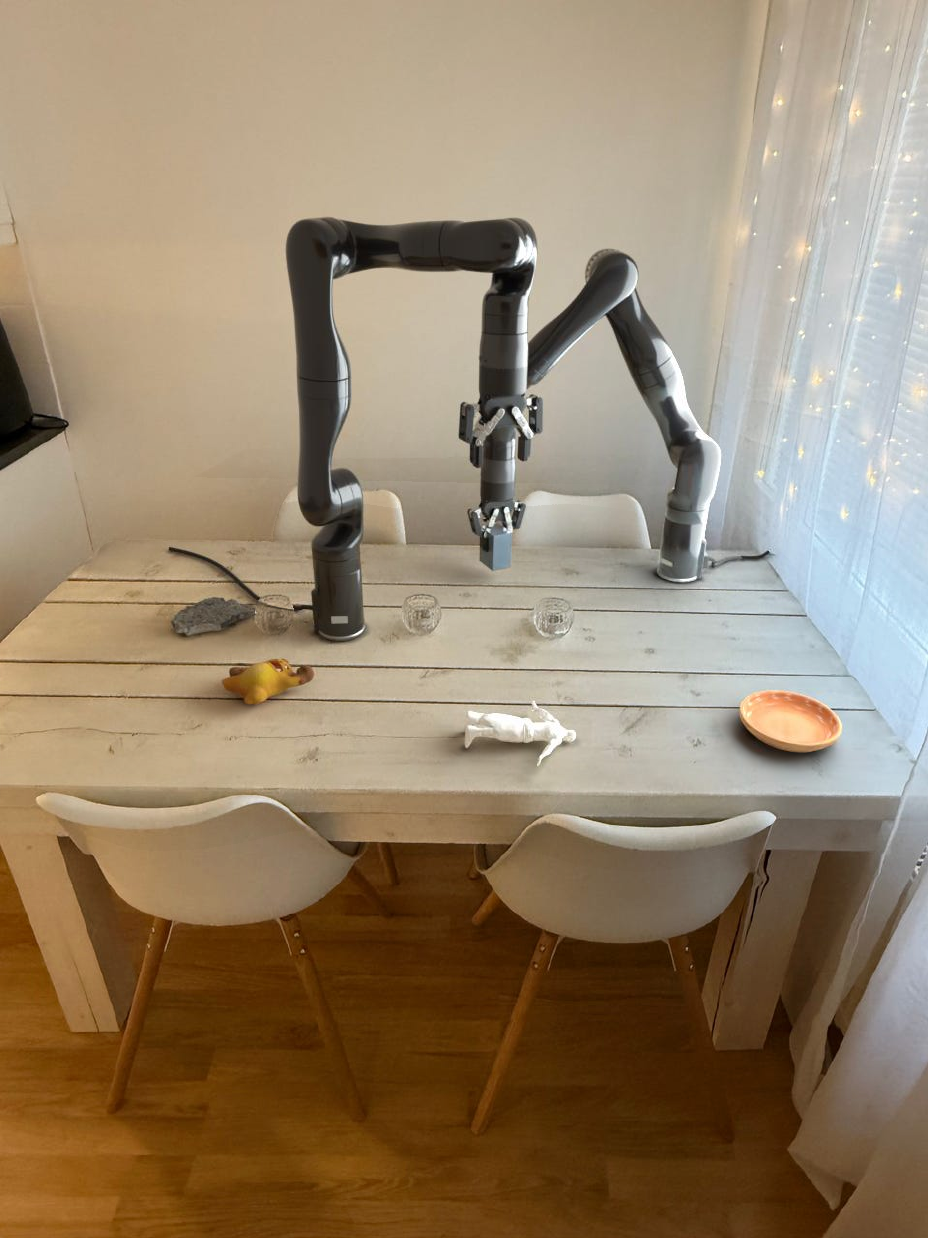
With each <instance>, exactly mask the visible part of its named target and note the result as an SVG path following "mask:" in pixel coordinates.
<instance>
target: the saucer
mask: <svg viewBox="0 0 928 1238" xmlns="http://www.w3.org/2000/svg"><path fill="white" fill-rule="evenodd" d="M739 718H740V721H741V722H742V724H743V726H744V727H745V728H746V729H747V730H748V732H750V734H752V735H753V736H754V737H755V738H756V739H757V740H759V741H761V742H762V743H764V744H766V745H768V746H770V747H772V748H773V749H777V750H778V749H779V750H781V751H785V752H791V753H812V752H815V751H820V750H822V749H823V750H824V749H826V748H828V747H830V746H832V745H834V744H835V743H837V741H838V740H839V738H840V736H841V734H842V732H843V731H842V730H843V726H842V721H841V719H840V718H839V716H838V714H836V712H835V711H833V710H832V709H831V708H830V707H828V706H827V705H826V704H824V703H822V702H821V701H819V700H817V699H814V698H812V697H810V696H808V695H804V694H800V693H798V692H792V691H788V690H787V691H786V690H777V689H776V690H775V689H773V690H762V691H757V692H753V693H751V694H749V695H747V696H746V697H745V698H743V700H742V701H741V702H740V705H739Z"/></svg>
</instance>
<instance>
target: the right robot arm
mask: <svg viewBox="0 0 928 1238" xmlns="http://www.w3.org/2000/svg"><path fill="white" fill-rule="evenodd" d="M584 269H585V270H584V281H585V284H584V286H583V287H582V289H581V290H580V292H579V293H578V294H577V295H576V297H575V298H574V299H573V300H572V301H571V302H570V303H569V304H568V305H567V307H566V308H564V310H562V312H560V313H559V314H558V315H556V316H555V317H554V318H553V319H552V320H550V321H548V323H547V324H545V325H544V326H542V328H541V329H540V330H538V332H537V333H535V335H533V337H531V339H530V340H528V368H527V390H529V388H530V387H532V386H536V385H537V384H539V383H540V382H542V380H543V379H544V378H545V377H547V375H548V374H549V373H550V371H551V370H552V369H553V368H554V367H555V366H556V365H557V364H558V363H559V362H560V360H561V359H563V357H564V356H565V355H566V354H567V353H568V351H569V350H570V349H571V348H572V347H573V346H574V345H575V344H576V343H577V342H579V340H580V339H581V338H582V337H583V336H584V335H585V334H586V333H588V331H589V330H591V328H593V326H595V325H596V324H597V323H598V322H599V321H600V320H602V319H603V318H604V317H606V320H607V321H608V323H609V325H610V328H611V329H612V332H613V334H614V337H615V341H616V343H617V345H618V348H619V351H620V353H621V356H622V358H623V360H624V362H625V366H626V367H627V370H628V372H629V375H630V376H631V379H632V380H633V383H634V385H635V387H636V390H638V393H639V394H640V396H641V398H642V399H643V402H644V403H645V405H646V407H647V409H648V410H649V412H650V413H651V415H652V416H653V419H654V420H655V421H656V423H657V426H658V428H659V432H660V434H661V436H662V439H663V441H664V445H665V448H666V451H667V454H668V457H669V459H670V462H671V464H672V465H673V466H674V467H675V468H676V469H677V470H676V476H675V481H674V486H673V487H671V488H670V489H669V490H668V492H667V497H666V504H665V510H664V517H663V526H662V533H661V542H660V548H659V555H658V563H657V567H656V574H657V575H658V577H660V578H661V579H664V580H666V581H669V582H673V583H691V582H694V581H696V580H701V578H702V572H703V569H708V566H709V565H708V564H709V561H710V562H711V566H712V567H714V568H715V567H718V566H720V565H722V564H724V563H726V562H728V561H731V560H759V559H762V558H765V557H766V556H768V555H769V554H770V553H769V551H768V550H766V551H765V552H763V553H761V554H758V555H731V556H726V557H724V558H722V559H720V560H718V561H717V560H716V558H714V557H711V556H710V555H709V554H708V553H707V552H706V548H707V540H706V539H705V532H706V526H707V522H708V521H707V520H708V515H709V508H710V503H711V500H712V499H713V497H714V495H715V492H716V488H717V483H718V479H719V474H720V467H721V460H722V459H721V458H722V452H721V448H720V447H719V445H718V443H717V442H716V441H714V440H713V439H712V438H711V437H709V436H708V435H707V434H706V433H705V432H704V431H703V430H702V428H701V427H700V425H699V424H698V423H697V420H696V419H695V417H694V415H693V413H692V411H691V409H690V407H689V404H688V402H687V397H686V389H685V384H684V378H683V375H682V371H681V369H680V366H679V364H678V362H677V359H676V357H675V354H674V353H673V351H672V349H671V347H670V345H669V343H668V341H667V340H666V338H665V336H664V335H663V333H662V332H661V330H660V329H659V328H658V326H657V324H656V323H655V322H654V320H653V319H652V317H650V315H649V313H648V312H647V310H646V309H645V306H644V304H643V302H642V300H641V297H640V295H639V293H638V289H637V286H638V282H639V275H640V274H639V273H640V272H639V267H638V265H637V262H636V261H635V259H634V258H632V256H630V255H629V254H627V253H626V252H624V251H621V250H619V249H615V248H602V249H599V250H597V251H595V252H594V253H593V254H592V255H591V256H590V257H589V258H588V260H587V263H586V265H585V268H584ZM485 425H486V423H485ZM485 425H484V426H485ZM516 432H517V429H516V428H515V427H514V426H513V427H503V428H500V429H495V428H494V429H493V430H492V432H491V433H490V434H489V435H487V436H486V438H485V439H484V441H483V443H482V446H483V459H482V468H480V475H479V476H480V485H479V487H480V489H479V493H480V494H479V496H480V502H479V504H478V507H475V508H474V509H473V508H468V509H467V517H468V522H469V525H470V528H471V529H470V530H471V532H472V533H473V534H474V535H476V536H477V537H479V549H480V548H481V549H482V550H483V551H484V552H485V553H486V552H488V551H489V537H488V536H489V533H490V530H491V528H493V525H494V524H495V523H498V522H501V525H502V526H503V527H505V528H506V529H508V530H509V531H511V532H512V533H513V532H514V531H515V530H519V529H520V528H521V525H522V522H523V518H524V515H525V511H526V507H527V505H526V503H524V502H523V501H521V500H519V499H518V500H517V501H515V495H516V476H517V463H516V447H517V446H516V443H517V437H516V435H517V434H516ZM512 511H513V512H512ZM511 512H512V515H511ZM481 514H482V516H481ZM480 518H481V520H480ZM480 526H481V527H480Z"/></svg>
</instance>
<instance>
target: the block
mask: <svg viewBox="0 0 928 1238" xmlns="http://www.w3.org/2000/svg"><path fill="white" fill-rule="evenodd" d="M480 527H481V525H480ZM488 537H489V551H488V552H486V553H485V552H484V551H483V550H482V549H481V548H480V547H479V557H478V559H479V562H481V563H482V565H484V566H486V567H487V568H488V569H489V570H490V571H492V572H495V571H499V570H504V569H508V568H511V567H512V548H513V547H512V546H513V544H512V543H513V532H511V531H509V530H508V529H506V528H505V527H503V525H502V524H500V523H498V522H495V523H494V525H493V528H491V530H490V533H489V536H488Z"/></svg>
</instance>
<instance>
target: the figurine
mask: <svg viewBox="0 0 928 1238" xmlns="http://www.w3.org/2000/svg"><path fill="white" fill-rule="evenodd" d="M529 707H530V708H531V711H530V713H532V712H535V713H536V714H537V716H538V717H539V719H541V720H543V721H544V722H532V720H531V719H530V718H528V717H522V718H521V717H518V716H514V715H510V714H504V713H496V712H495V713H493V712H490V714H489V713H487V714H486V713H482V712H475V711H472V710H471V711H470V710H468V711H467V712H466V719H465V724H464V732H465V734H464V747H465V748H466V749H468V748H469V747H470V745H471V744H472V742H473V740H474V739H475V738H482V737H483V738H484V737H485V738H492V739H495V740H498V741H499V742H509V743H522V742H523V743H525V744H530V743H531V742H533V741H544V742H547V743H548V744H547V745H546V746H545V748H544V749H543V751H542V752H541V754H540V755H539V757H538V758H537V762H536V767H539V766H540V765H541V761H542V760H543V758H545V757H547V756H549V755H550V754H551V753H552V751H553V750H554V749H555V748H556V747H557V746H559V745H561V744H562V742H563V741H565V742H570V743H571V742H574V740H575V739H576V738H577V737H576V736H577V734H576V732H575V730H574V729H565V727H563V726H561V725H560V722H559V720H558V719H557V718H554V717H553V715H552V714H550V713H549V712H548V711H547V710H545V709H543V708H541V707H538V706H537V703H535V700H534V699H533V700H532V702H531V705H530V706H529ZM476 725H477V726H484V727H477V726H476Z"/></svg>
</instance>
